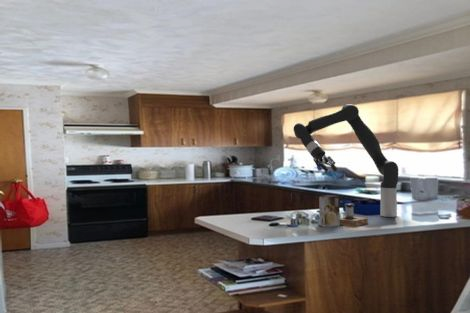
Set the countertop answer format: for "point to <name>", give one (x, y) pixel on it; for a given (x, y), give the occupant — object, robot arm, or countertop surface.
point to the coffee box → (329, 211)
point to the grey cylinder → (349, 211)
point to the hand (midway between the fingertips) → (331, 170)
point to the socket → (353, 221)
